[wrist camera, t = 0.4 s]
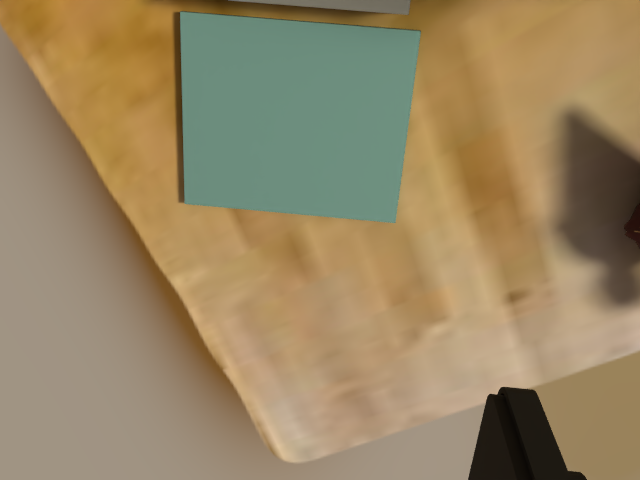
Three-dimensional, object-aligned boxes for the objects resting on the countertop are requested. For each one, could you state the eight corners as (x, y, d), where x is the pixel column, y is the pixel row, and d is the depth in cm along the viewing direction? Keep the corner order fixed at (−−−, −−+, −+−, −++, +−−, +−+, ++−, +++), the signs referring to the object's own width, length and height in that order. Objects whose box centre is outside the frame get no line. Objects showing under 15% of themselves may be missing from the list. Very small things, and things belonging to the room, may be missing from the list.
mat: (182, 11, 36) (180, 11, 35) (420, 30, 35) (420, 31, 35) (186, 201, 41) (184, 203, 40) (394, 219, 40) (395, 222, 40)
